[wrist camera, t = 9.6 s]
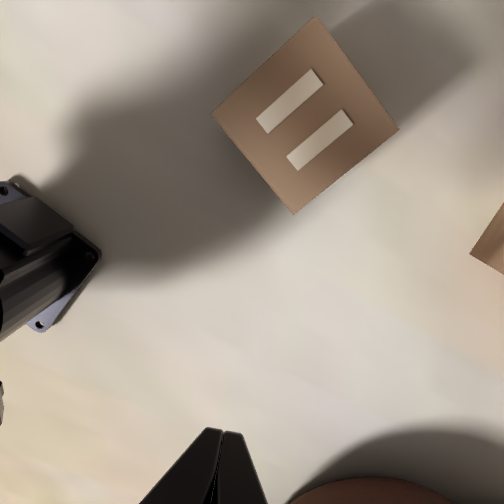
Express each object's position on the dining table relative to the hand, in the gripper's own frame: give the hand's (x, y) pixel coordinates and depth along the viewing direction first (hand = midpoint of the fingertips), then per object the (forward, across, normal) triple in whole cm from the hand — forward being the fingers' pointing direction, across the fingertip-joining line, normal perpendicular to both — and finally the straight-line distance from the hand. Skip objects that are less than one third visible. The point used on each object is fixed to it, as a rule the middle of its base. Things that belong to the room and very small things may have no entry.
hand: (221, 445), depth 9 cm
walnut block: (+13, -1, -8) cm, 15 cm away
